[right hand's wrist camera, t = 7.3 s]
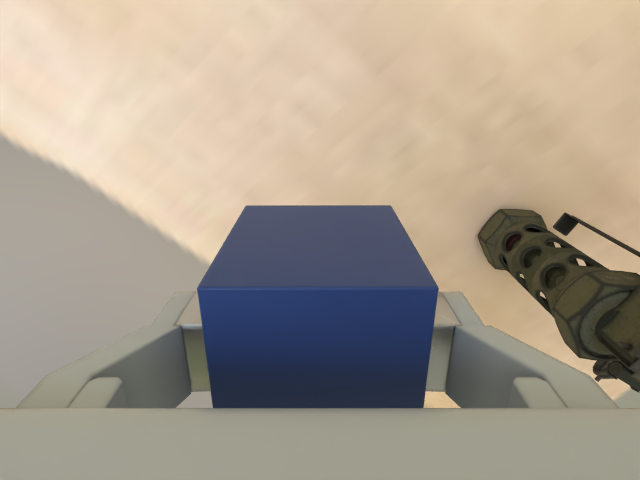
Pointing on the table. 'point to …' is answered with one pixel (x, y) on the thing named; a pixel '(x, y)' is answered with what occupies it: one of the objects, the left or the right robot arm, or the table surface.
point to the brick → (318, 311)
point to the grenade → (572, 289)
